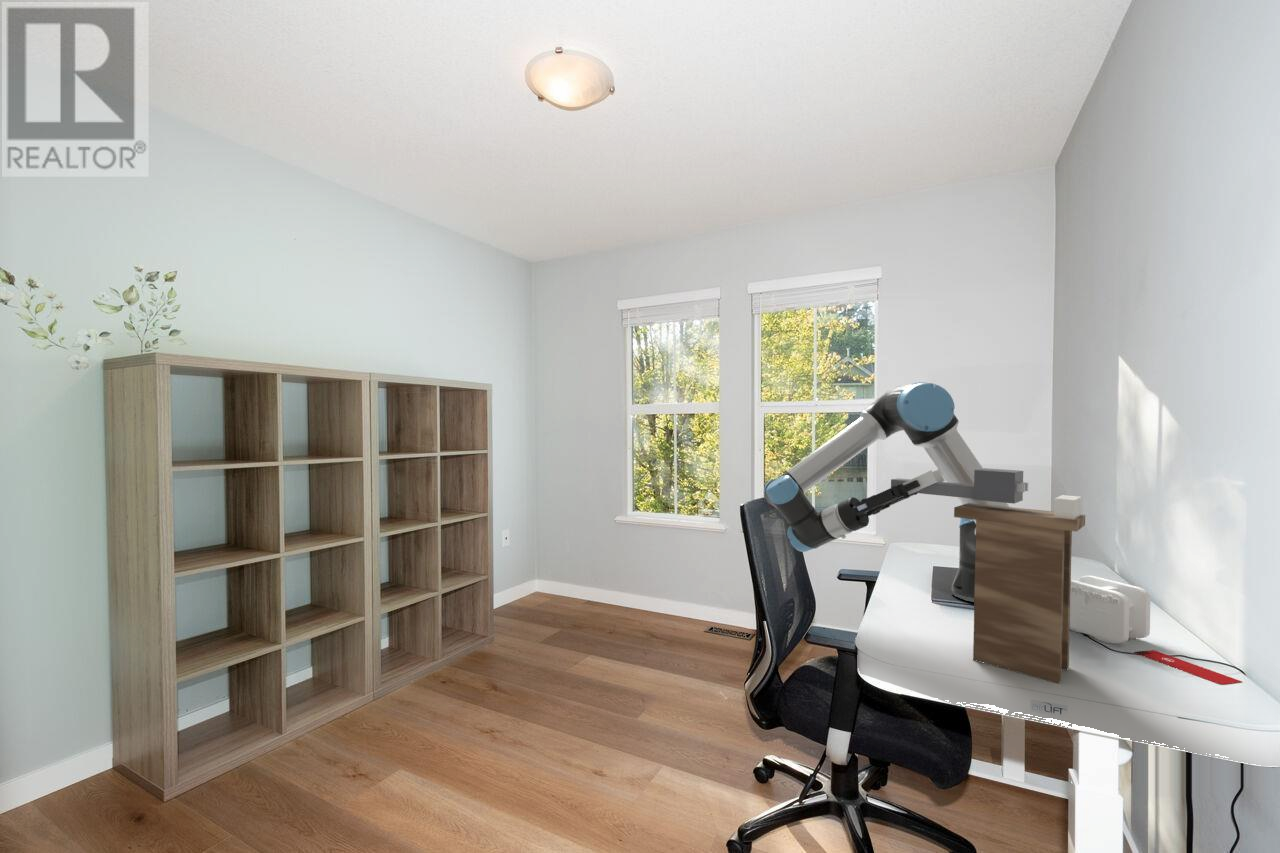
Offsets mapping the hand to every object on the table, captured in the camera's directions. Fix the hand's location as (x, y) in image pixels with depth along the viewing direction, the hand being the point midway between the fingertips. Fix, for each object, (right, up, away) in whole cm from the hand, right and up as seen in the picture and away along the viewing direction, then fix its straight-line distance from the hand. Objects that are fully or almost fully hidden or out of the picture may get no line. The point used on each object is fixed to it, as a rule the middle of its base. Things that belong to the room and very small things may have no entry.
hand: (937, 475), depth 123 cm
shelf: (+10, -36, -10) cm, 39 cm away
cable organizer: (+40, -37, +6) cm, 55 cm away
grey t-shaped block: (+2, -4, -2) cm, 5 cm away
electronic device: (+43, -37, -11) cm, 58 cm away
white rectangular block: (+16, -6, -16) cm, 24 cm away
